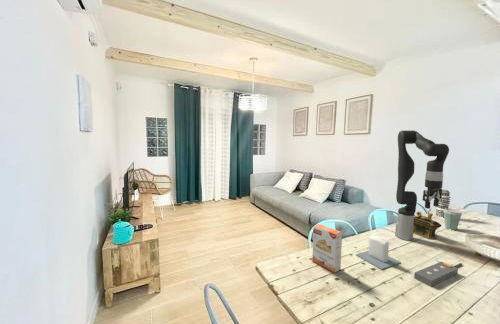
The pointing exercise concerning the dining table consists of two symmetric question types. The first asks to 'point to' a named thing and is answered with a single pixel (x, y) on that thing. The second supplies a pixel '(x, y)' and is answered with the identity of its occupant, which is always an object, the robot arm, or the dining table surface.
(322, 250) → the cracker box
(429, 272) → the power strip
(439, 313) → the dining table surface
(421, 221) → the decorative box
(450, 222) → the disposable coffee cup
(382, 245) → the photo printer
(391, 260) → the rubber mat
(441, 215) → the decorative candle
